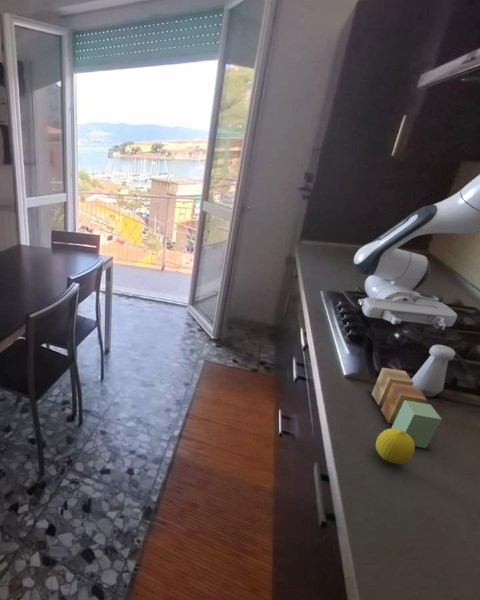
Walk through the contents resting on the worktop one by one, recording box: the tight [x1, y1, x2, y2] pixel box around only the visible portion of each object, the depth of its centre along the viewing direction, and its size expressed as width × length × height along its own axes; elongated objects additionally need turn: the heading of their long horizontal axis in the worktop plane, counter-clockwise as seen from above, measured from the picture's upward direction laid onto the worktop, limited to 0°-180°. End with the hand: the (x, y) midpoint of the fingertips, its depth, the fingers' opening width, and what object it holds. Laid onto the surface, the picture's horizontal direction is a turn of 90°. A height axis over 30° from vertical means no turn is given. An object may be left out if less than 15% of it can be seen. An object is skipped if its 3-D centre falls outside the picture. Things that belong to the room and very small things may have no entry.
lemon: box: [375, 428, 416, 465], centre depth 70 cm, size 6×6×8 cm
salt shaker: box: [411, 344, 456, 398], centre depth 87 cm, size 6×6×13 cm
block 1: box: [371, 367, 414, 407], centre depth 85 cm, size 4×4×8 cm
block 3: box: [391, 400, 443, 449], centre depth 75 cm, size 4×4×8 cm
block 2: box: [380, 383, 428, 425], centre depth 80 cm, size 4×4×8 cm
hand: (419, 324), depth 94 cm, fingers open, 8 cm apart
